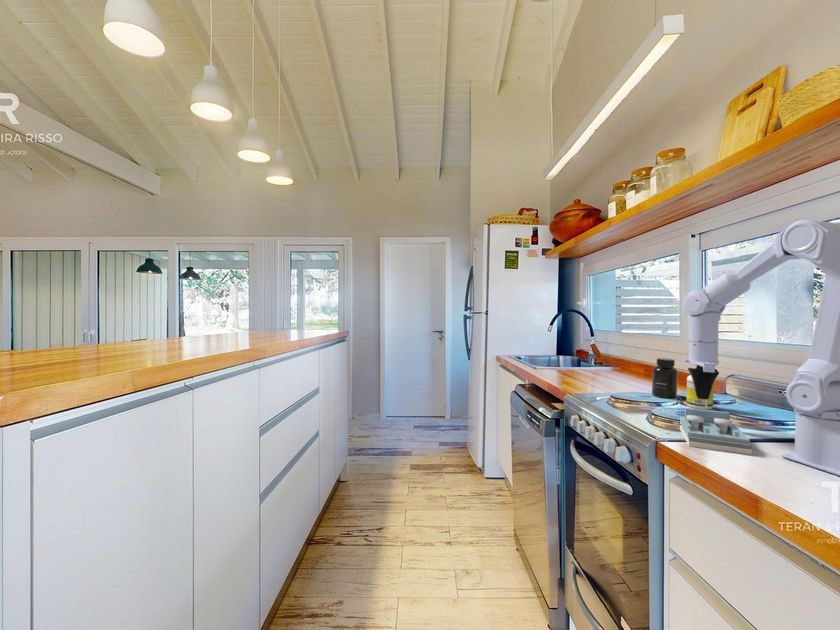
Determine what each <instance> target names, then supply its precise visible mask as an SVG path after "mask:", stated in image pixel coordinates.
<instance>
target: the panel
mask: <svg viewBox="0 0 840 630" xmlns="http://www.w3.org/2000/svg"><path fill="white" fill-rule="evenodd" d="M687 415H696V416H701V417H703V418H704V422H703V423H700V427H701V429H702V430H703V432H704V433H700V432H692V426H691V421H688V420H687ZM714 418H723V419H728V420H731V419H730V412H728V411H720V410H712V409H709V410H705V409H696V408H691V407H685V408H684V417H680V424H681V426H682V428H683V430H684V432H685V433H686V435H687V437H688V438H689V436H690V437H697V438H705V439H712V440H720V441H728V442H735V443H743V444H751V439H750V438H749V437H747V435H746V434H744V433H743V432H742V431H741V429H739V428H738V426H736V424H735V423H733V424H732V426H728V431H729V432H730V433H731V434H732V435H733V436H734V437H731V436H723V435H720V429H719V428H718V424H715V423H714Z"/></svg>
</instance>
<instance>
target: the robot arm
mask: <svg viewBox="0 0 840 630" xmlns="http://www.w3.org/2000/svg"><path fill="white" fill-rule="evenodd" d="M797 259H798V260H800V259H801V260H803V259H804V260H806V261H809V262H810V263H812V264H813V265H814V266H815V267H817V268H818V269H820V270H821V271H822V273H824V274H825V276H824V279H823V280H824V281H823V285H822V290H821V296H820V299H819V301H820V302H819V306H818V310H817V316H816V321H815V326H814V330H813V335H812V340H811V346H810V350H809V355H808V358H807V360H806V361H805V362H804V363H803V364H801V365H800V367H798V368H797V370H796V371H795V376H794V378H793V380H792V381H791V382H790V383H788V385H787V387H786V389H785V396H786V400H787V402H788V403H789V404H790V406H791V407H792V409H793V412H794V413H795V426H794V430H795V431H794V452H789V453H782V454H781V457H782V458H784V459H787V460H791V461H794V462H798V463H801V464H803V465H806V466H809V467H812V468H815V469H819V470H820V471H824V472H827V473H830V474H833V475H836V476H839V477H840V221H839V222H832V221H820V220H813V219H801V220H798V221H797V220H796V221H795V222H793V223H792V224H790V225H789V226H788V227H787V228H786V229H784V230H782V231H781V232H778V233H777V234H776V236H775V238H774V240H773V241H772V242H771V243H770V244H769V245H767V246H766V247H764V248H763V249H762V250H761V251H759V252H758V253H757V254H756V255H755V256H754V257H752V258H751V259H750V260H748V261H747V263H745V264H744V265H743V266H741V267H740V268H739V269H737V270H727V271H722V272H720V273H719V274H718V277H717V278H716V279H714V280H713V281H711V282H709V284H705V285H704V286H703V287H702V289H700V290H692V291H689V292H688V294H686V295H685V297H684V298H683V301H682V304H683V305H682V306H683V309H684V311H685V313H686V314H687V315H688V358H683V359H682V363H688V364H691V365H694V366H695V367H687V370H688V372H689V374H690V375H691V377H692V379H693V383H694V388H695V393H696V396H697V398H698V399H709V396H710V392H711V388H712V385H713V386H714V382H715V381H716V379H717V377H718V376H719V375H720V371H719V370H718V369H716V366H719V364H720V360H719V323H720V321H721V315H722V313H723V312H724V311H725V309H726V305H728V304H730V303H731V302H733V301H734V300H736V299H737V298H739V297H740V296H742V295H744V294H745V293H747V292H748V291H749V290H750V289H751V282H753V281H754V280H756V279H758V278H760V277H762V276H763V275H765V274H767V273H768V272H770V271H771V270H773V269H775V268H777V267H778V266H781V265H782V264H784V263H786V262H787V261H791V260H792V261H793V260H797Z"/></svg>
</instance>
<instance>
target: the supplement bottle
mask: <svg viewBox="0 0 840 630" xmlns="http://www.w3.org/2000/svg"><path fill="white" fill-rule="evenodd" d="M675 363H676V362H675V359H673V358H665V357H664V358H662V357H661V358H660V357H659V358H657V359H656V365H657V366H654V367H653V368H652V381H651V382H652V383H651V394H652V396H654V397H656V398H660V399H669V400H670V399H677V396H678V381H679V378H678V377H679V376H678V375H679V371H678V369H677V368H675Z"/></svg>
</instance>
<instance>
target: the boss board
mask: <svg viewBox="0 0 840 630" xmlns="http://www.w3.org/2000/svg"><path fill="white" fill-rule="evenodd" d="M687 420H688V421H691V426H692V432H700V433H704V432H703V430H702V429H701V427H700V423H703V422H704V418H703V417H701V416H696V415H687ZM714 423H715V424H718V428H719V429H720V435H723V436H731V437H734V436H733V435H732V434H731V433H730V432H729V431H728V426H732V424H734V423H733V420H731V419H730V420H728V419H723V418H714ZM679 430H680V432H681V434H682V435H683V438H684V439H685V442H686V443H687V445H688V446H689V447H692V448H693V447H695V448H701V449H709V450H715V451H723V452H729V453H736V454H743V455H750V456H751V455H752V451H753V449H752V447H753V445H752V444H751V443H750V444H743V443H735V442H728V441H720V440H712V439H705V438H697V437H690V436H689V438H688V437H687V435H686V433H685V432H684V430H683V428H682V426H681V425H680V428H679Z"/></svg>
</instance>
